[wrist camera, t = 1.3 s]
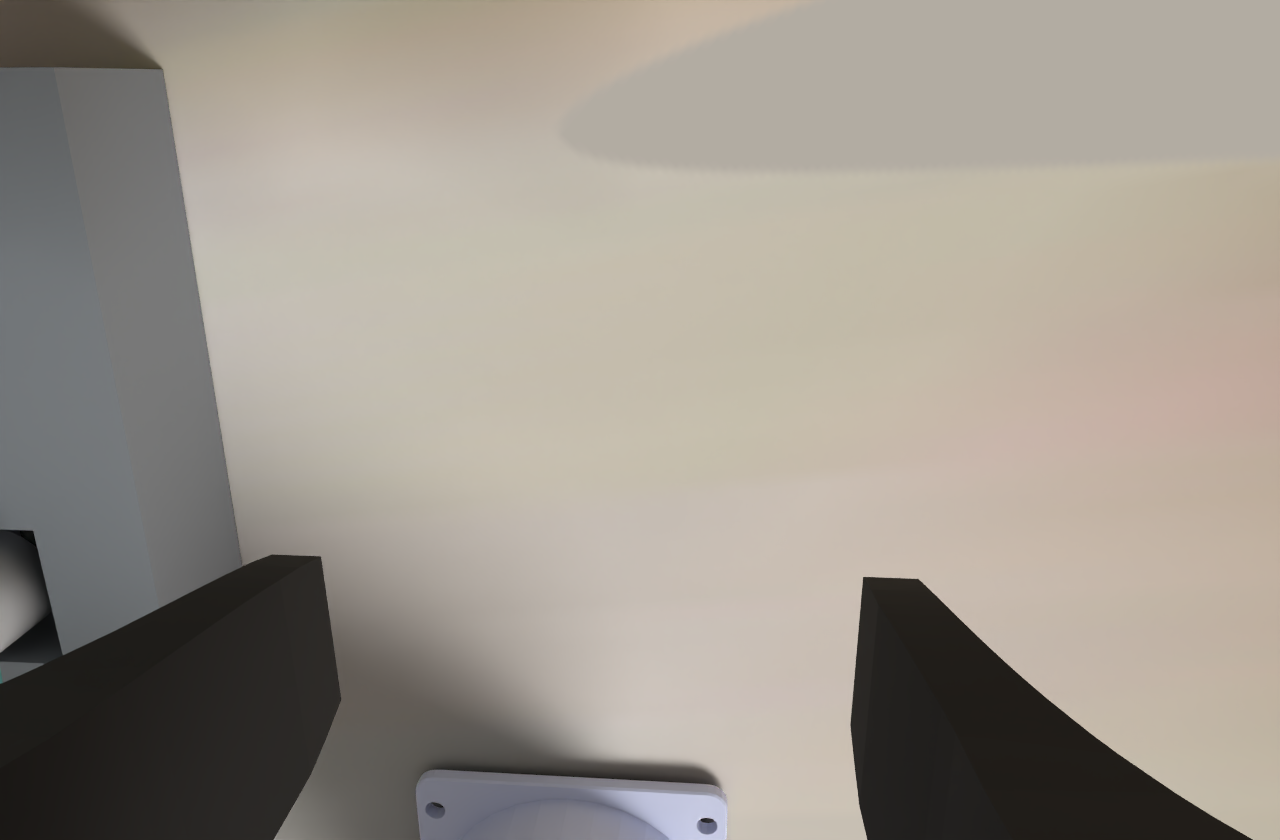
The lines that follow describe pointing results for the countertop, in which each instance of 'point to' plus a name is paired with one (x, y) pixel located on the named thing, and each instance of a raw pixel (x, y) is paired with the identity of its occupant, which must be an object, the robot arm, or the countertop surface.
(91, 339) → the panel box
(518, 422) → the countertop surface
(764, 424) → the countertop surface
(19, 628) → the knob
